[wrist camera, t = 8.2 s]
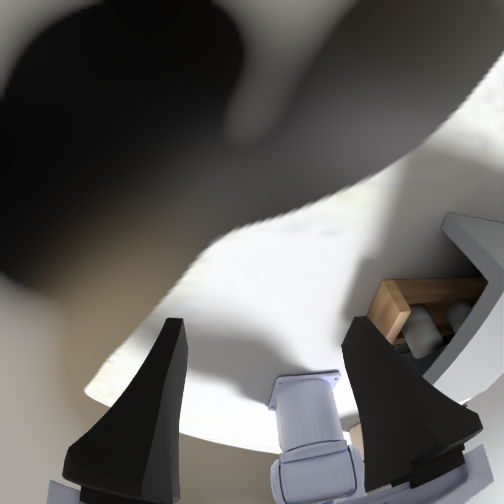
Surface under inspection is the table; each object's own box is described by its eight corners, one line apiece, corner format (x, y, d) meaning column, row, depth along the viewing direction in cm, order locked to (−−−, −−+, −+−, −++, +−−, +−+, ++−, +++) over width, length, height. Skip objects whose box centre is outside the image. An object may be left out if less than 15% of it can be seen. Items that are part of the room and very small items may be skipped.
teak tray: (460, 319, 29) (479, 350, 24) (358, 331, 27) (375, 376, 23) (486, 276, 25) (511, 308, 20) (382, 280, 23) (408, 326, 19)
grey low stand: (463, 346, 33) (485, 390, 26) (370, 365, 32) (390, 425, 24) (532, 229, 21) (574, 272, 14) (447, 212, 20) (511, 278, 13)
